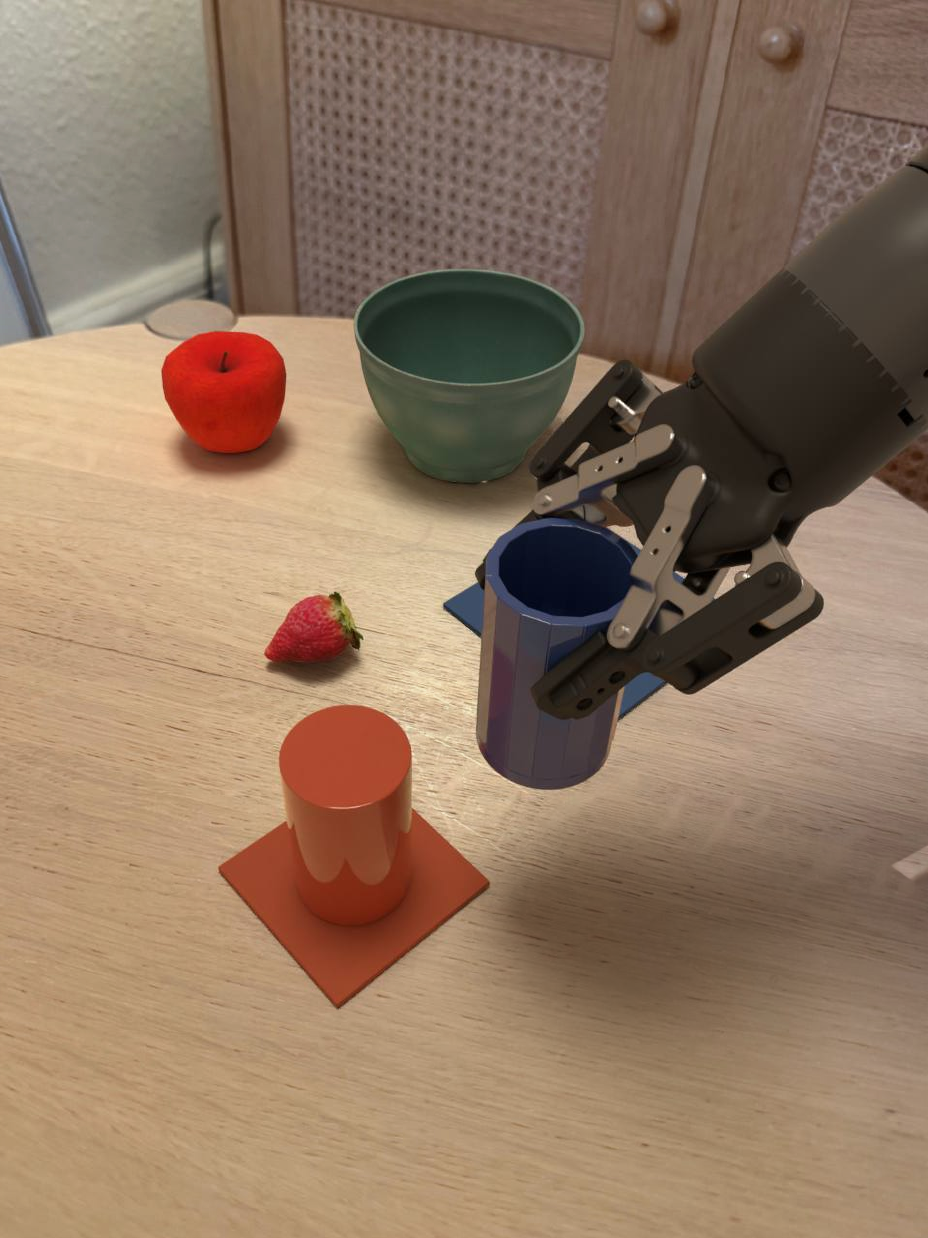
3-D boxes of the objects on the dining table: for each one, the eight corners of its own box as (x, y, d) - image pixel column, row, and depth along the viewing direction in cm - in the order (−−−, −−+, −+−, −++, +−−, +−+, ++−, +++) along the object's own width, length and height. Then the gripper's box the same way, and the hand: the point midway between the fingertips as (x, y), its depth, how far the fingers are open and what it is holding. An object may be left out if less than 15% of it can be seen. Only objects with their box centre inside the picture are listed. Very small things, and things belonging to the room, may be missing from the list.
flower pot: (316, 437, 84) (307, 310, 76) (473, 368, 91) (479, 246, 84) (452, 544, 75) (456, 413, 68) (612, 458, 83) (632, 331, 75)
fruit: (263, 637, 68) (254, 579, 65) (357, 626, 69) (354, 568, 66) (267, 687, 65) (259, 629, 62) (366, 675, 66) (363, 617, 63)
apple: (196, 489, 79) (180, 397, 73) (158, 426, 84) (140, 336, 78) (310, 456, 82) (303, 366, 76) (266, 398, 87) (256, 309, 82)
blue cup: (639, 739, 48) (677, 574, 41) (545, 815, 45) (569, 651, 38) (541, 664, 51) (562, 498, 44) (447, 730, 48) (453, 563, 41)
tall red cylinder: (435, 878, 56) (439, 759, 49) (344, 949, 53) (333, 833, 46) (362, 806, 59) (355, 684, 52) (272, 869, 56) (252, 749, 49)
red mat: (489, 885, 56) (490, 881, 56) (337, 1008, 51) (337, 1004, 51) (367, 769, 61) (367, 764, 61) (218, 871, 56) (217, 867, 56)
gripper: (712, 186, 40) (402, 495, 45) (950, 403, 30) (520, 760, 36) (802, 300, 45) (513, 565, 50) (1030, 516, 35) (642, 814, 41)
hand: (517, 645), depth 43 cm, fingers closed on blue cup, 6 cm apart
